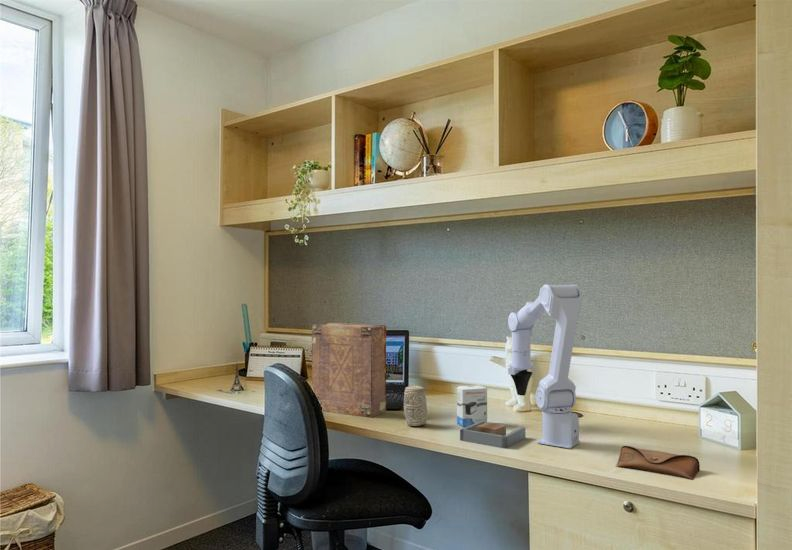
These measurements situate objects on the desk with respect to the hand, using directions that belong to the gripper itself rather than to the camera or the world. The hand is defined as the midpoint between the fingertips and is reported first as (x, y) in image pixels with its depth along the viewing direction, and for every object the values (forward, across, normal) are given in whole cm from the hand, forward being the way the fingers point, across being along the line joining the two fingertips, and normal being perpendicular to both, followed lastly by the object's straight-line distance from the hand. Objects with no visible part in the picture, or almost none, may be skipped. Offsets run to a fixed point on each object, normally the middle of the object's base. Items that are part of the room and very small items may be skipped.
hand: (521, 394), depth 184 cm
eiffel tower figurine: (+10, +14, -121) cm, 122 cm away
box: (+9, +19, 0) cm, 21 cm away
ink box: (+10, +8, -13) cm, 18 cm away
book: (+10, +15, -58) cm, 60 cm away
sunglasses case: (+10, +21, +44) cm, 49 cm away
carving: (+10, +19, -27) cm, 34 cm away
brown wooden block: (+10, +20, 0) cm, 22 cm away
